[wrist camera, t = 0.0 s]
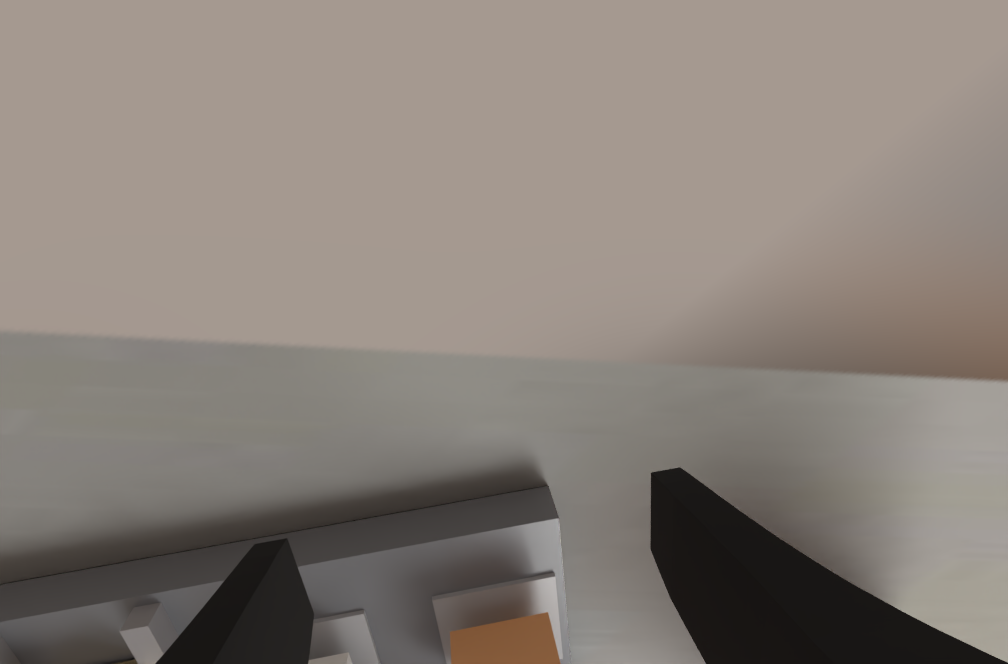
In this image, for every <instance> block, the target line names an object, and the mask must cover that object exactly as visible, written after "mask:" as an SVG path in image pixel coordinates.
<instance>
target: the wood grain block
mask: <svg viewBox="0 0 1008 664" xmlns="http://www.w3.org/2000/svg"><path fill="white" fill-rule="evenodd" d="M114 664H138V663H137V661H136V659H135V660H130V661H124V662H119V663H114Z"/></svg>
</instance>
